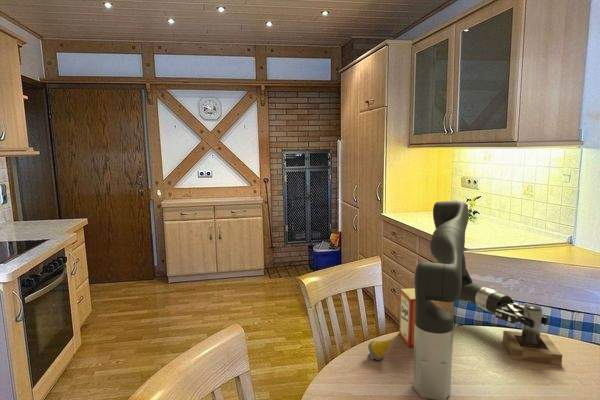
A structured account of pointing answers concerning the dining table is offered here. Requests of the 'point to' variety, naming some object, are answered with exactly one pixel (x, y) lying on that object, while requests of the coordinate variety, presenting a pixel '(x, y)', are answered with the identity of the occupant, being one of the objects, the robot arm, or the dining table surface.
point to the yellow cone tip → (378, 349)
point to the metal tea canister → (534, 333)
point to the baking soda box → (407, 315)
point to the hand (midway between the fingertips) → (540, 323)
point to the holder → (532, 349)
